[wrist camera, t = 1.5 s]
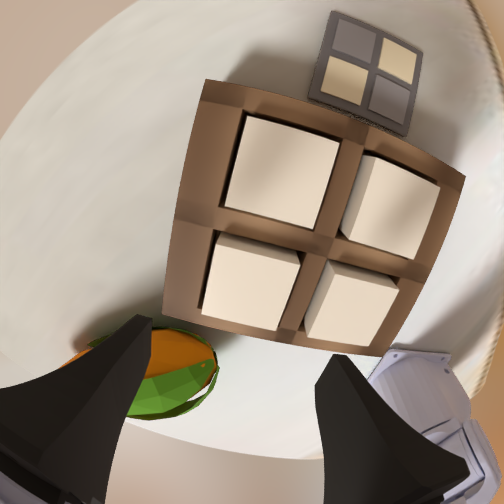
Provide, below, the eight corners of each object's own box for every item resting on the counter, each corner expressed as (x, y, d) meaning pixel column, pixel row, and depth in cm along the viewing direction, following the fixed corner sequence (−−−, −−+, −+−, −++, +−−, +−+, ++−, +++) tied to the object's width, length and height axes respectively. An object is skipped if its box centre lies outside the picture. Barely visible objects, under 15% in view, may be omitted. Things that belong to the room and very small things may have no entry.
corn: (233, 434, 16) (64, 432, 19) (242, 364, 23) (92, 389, 26) (175, 358, 14) (19, 380, 17) (204, 294, 21) (56, 340, 24)
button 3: (295, 250, 16) (300, 265, 14) (274, 312, 18) (275, 331, 16) (221, 231, 16) (215, 244, 14) (207, 296, 17) (201, 314, 15)
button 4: (329, 143, 14) (339, 143, 12) (306, 218, 15) (312, 229, 13) (249, 119, 13) (247, 115, 11) (229, 197, 15) (224, 205, 13)
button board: (436, 168, 16) (465, 176, 13) (369, 329, 21) (382, 357, 18) (216, 91, 15) (205, 78, 12) (175, 287, 20) (161, 314, 17)
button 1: (387, 274, 16) (399, 289, 15) (359, 328, 18) (368, 346, 16) (327, 258, 16) (335, 273, 14) (303, 318, 18) (307, 337, 16)
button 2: (422, 181, 14) (440, 187, 12) (399, 246, 16) (413, 259, 14) (362, 155, 14) (376, 157, 12) (338, 227, 15) (348, 239, 13)
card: (420, 54, 13) (424, 52, 12) (403, 136, 15) (407, 136, 15) (330, 12, 12) (332, 9, 12) (307, 97, 15) (309, 96, 14)
